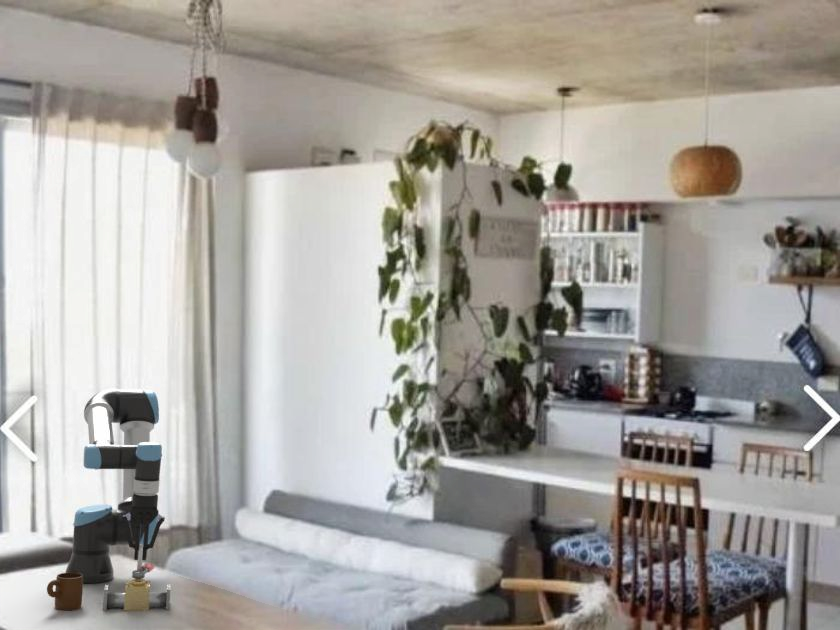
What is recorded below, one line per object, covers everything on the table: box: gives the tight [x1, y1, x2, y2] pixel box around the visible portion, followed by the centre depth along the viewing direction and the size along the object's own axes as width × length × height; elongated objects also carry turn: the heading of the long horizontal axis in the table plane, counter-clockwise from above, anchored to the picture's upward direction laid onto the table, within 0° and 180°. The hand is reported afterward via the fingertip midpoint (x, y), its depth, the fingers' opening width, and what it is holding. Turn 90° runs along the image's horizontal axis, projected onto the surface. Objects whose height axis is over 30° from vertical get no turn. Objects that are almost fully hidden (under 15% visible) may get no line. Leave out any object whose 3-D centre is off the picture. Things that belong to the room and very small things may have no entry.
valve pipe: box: [102, 578, 172, 612], centre depth 311 cm, size 9×20×9 cm, turn 104°
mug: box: [46, 572, 84, 611], centre depth 305 cm, size 12×8×9 cm, turn 152°
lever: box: [131, 563, 155, 579], centre depth 315 cm, size 13×4×2 cm, turn 177°
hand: (139, 570), depth 318 cm, fingers closed
